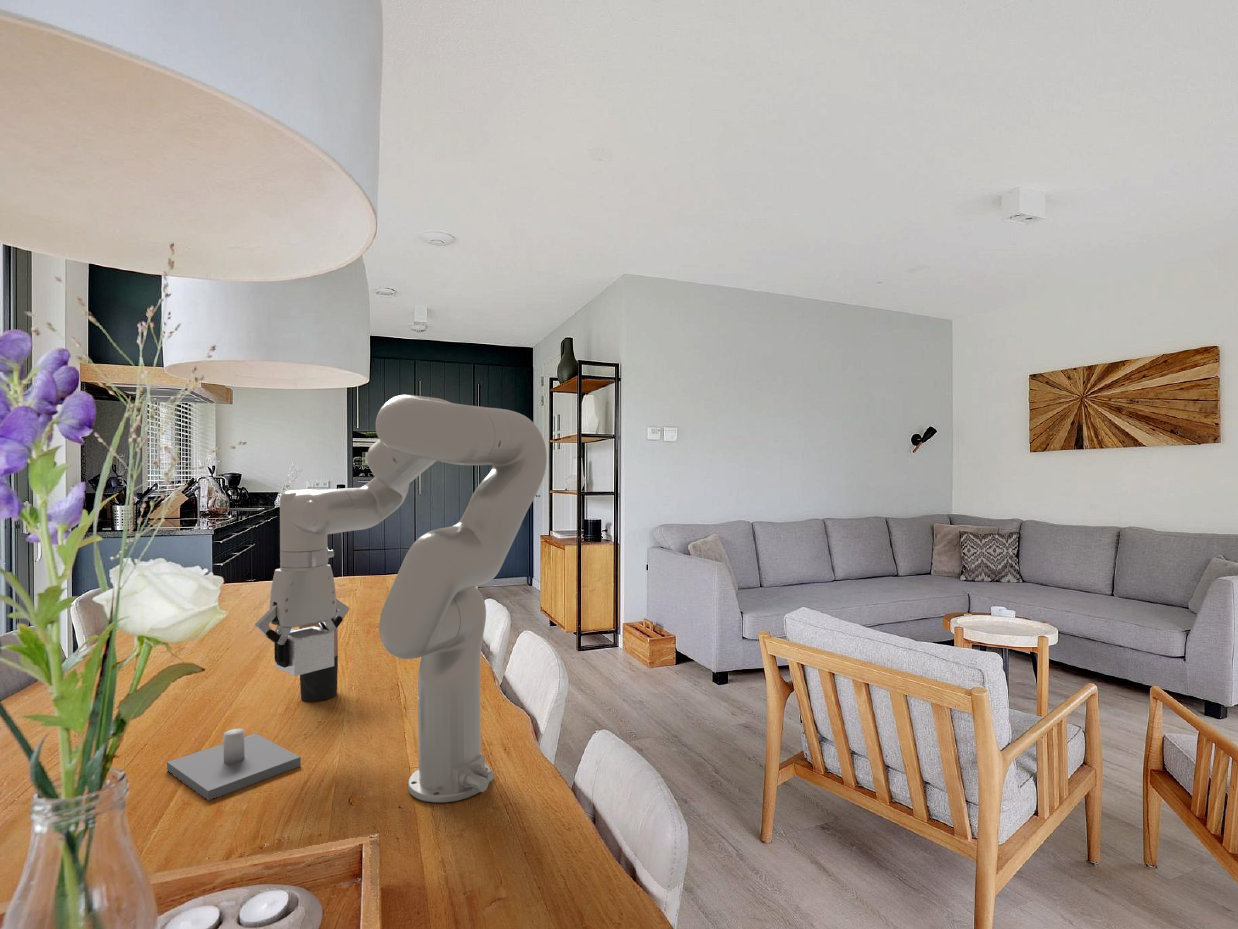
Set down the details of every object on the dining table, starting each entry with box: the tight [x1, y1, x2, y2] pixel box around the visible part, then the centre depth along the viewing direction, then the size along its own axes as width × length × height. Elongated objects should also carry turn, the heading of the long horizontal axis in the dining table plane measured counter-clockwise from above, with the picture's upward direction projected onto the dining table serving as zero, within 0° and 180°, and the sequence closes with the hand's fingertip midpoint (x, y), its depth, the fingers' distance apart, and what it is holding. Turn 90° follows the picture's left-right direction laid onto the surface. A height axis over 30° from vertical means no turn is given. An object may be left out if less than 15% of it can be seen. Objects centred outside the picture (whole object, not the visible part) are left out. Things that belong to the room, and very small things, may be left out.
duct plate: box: [166, 728, 302, 802], centre depth 109 cm, size 16×14×6 cm
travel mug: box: [298, 609, 339, 703], centre depth 143 cm, size 8×8×20 cm
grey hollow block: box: [274, 626, 334, 677], centre depth 118 cm, size 12×7×6 cm, turn 52°
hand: (304, 659), depth 116 cm, fingers closed on grey hollow block, 7 cm apart
